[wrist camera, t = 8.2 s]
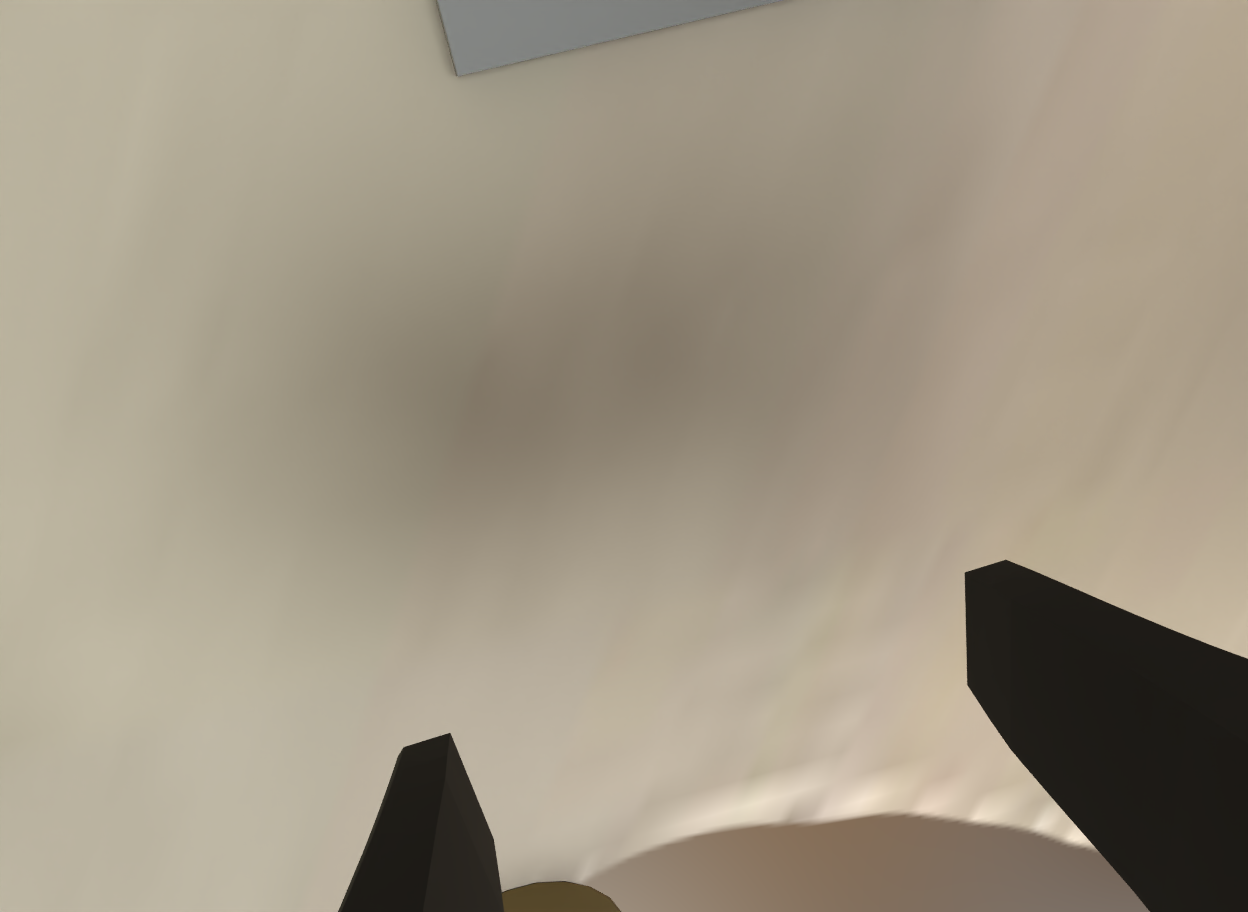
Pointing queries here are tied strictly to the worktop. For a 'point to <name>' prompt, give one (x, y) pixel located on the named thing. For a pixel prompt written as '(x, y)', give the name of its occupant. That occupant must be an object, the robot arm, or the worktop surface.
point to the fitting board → (558, 25)
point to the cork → (557, 899)
